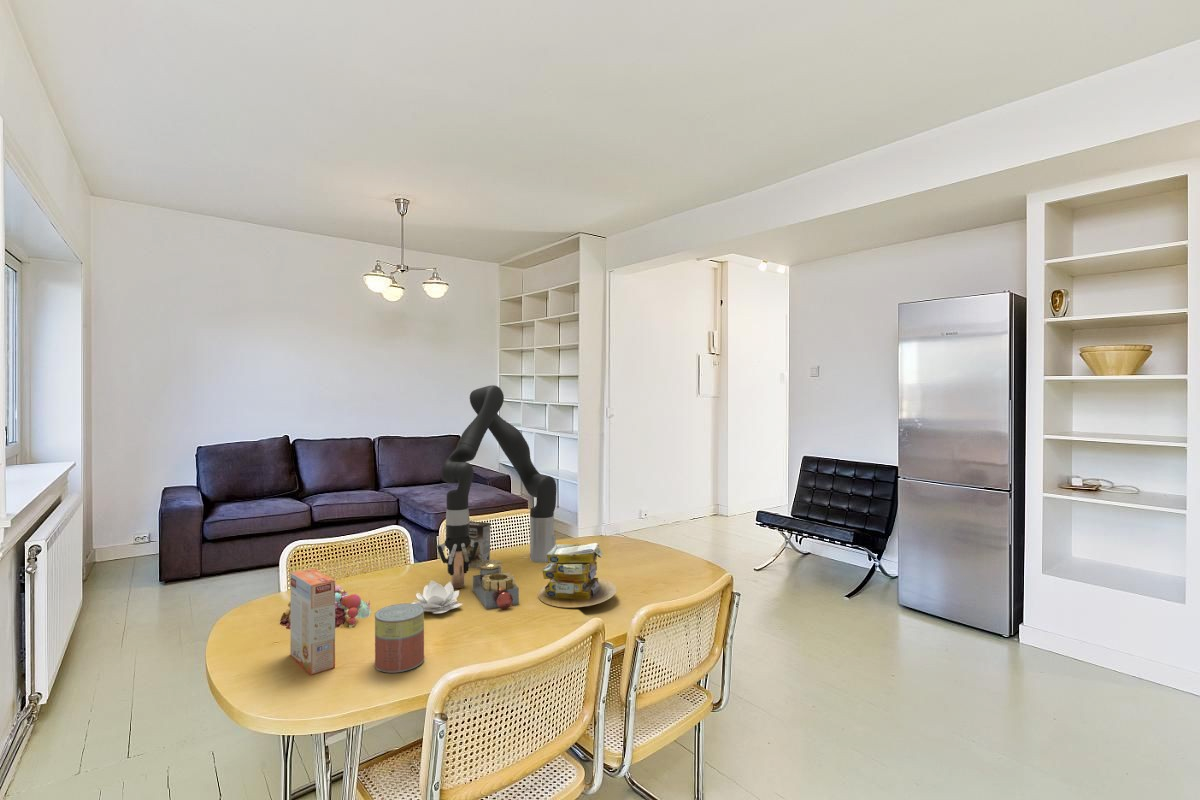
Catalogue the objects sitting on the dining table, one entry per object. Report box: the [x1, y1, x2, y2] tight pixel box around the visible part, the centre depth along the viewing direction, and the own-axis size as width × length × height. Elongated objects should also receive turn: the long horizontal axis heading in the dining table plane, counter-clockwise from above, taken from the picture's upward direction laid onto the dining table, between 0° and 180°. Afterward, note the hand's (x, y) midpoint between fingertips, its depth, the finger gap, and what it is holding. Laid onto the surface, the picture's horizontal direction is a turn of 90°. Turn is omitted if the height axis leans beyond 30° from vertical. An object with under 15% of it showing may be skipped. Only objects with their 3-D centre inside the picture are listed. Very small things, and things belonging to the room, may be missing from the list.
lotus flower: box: [411, 579, 464, 614], centre depth 174 cm, size 14×15×9 cm
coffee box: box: [466, 520, 491, 570], centre depth 218 cm, size 9×6×16 cm
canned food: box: [374, 602, 425, 674], centre depth 140 cm, size 11×11×12 cm
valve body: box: [472, 559, 520, 610], centre depth 183 cm, size 21×10×9 cm, turn 25°
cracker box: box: [290, 568, 336, 676], centre depth 140 cm, size 14×6×21 cm, turn 45°
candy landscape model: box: [279, 584, 372, 630], centre depth 168 cm, size 25×24×9 cm
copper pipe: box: [451, 551, 465, 589], centre depth 194 cm, size 4×4×12 cm
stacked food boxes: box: [537, 542, 617, 608], centre depth 187 cm, size 25×25×17 cm
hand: (458, 573), depth 194 cm, fingers closed on copper pipe, 4 cm apart
